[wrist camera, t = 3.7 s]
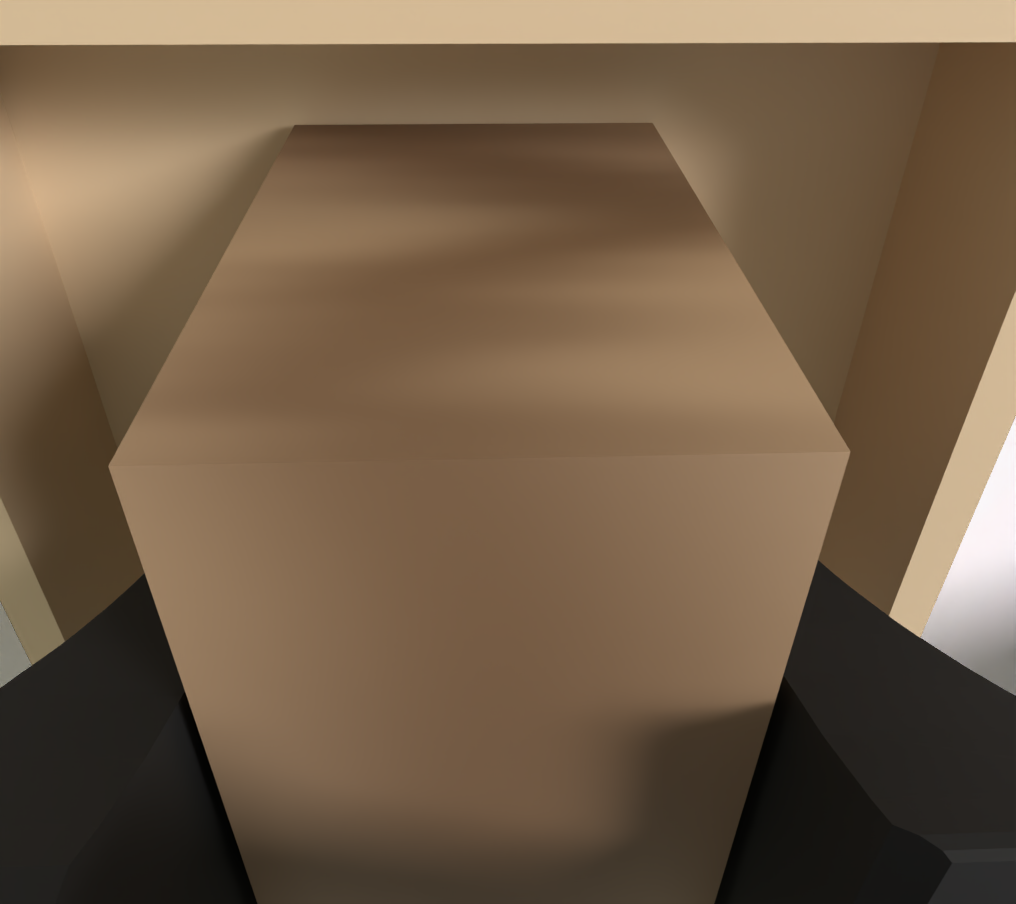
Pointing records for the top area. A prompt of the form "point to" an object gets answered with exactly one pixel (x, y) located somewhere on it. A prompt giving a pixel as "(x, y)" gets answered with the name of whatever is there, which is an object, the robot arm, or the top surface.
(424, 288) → the box
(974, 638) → the top surface
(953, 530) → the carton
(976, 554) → the top surface
